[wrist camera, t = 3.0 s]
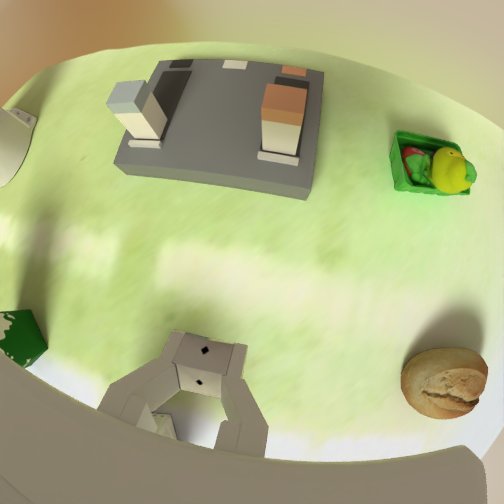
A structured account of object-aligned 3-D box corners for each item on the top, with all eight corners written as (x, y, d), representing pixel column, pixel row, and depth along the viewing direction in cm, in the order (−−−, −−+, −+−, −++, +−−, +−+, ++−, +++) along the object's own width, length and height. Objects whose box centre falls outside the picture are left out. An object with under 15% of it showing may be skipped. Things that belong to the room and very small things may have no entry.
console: (126, 174, 34) (110, 160, 29) (166, 76, 36) (157, 57, 31) (305, 200, 32) (312, 186, 27) (319, 89, 34) (324, 68, 29)
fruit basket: (442, 157, 32) (483, 123, 21) (453, 213, 31) (503, 190, 20) (379, 147, 33) (414, 101, 22) (388, 208, 32) (434, 177, 21)
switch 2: (262, 150, 29) (261, 107, 21) (267, 128, 29) (267, 83, 21) (295, 155, 29) (303, 114, 21) (298, 133, 29) (307, 89, 21)
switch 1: (135, 138, 30) (105, 104, 22) (143, 119, 30) (117, 82, 22) (159, 139, 30) (133, 102, 22) (167, 119, 30) (144, 79, 22)
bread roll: (459, 404, 28) (489, 421, 20) (384, 407, 29) (410, 433, 21) (477, 346, 29) (511, 353, 21) (405, 339, 30) (438, 351, 22)
